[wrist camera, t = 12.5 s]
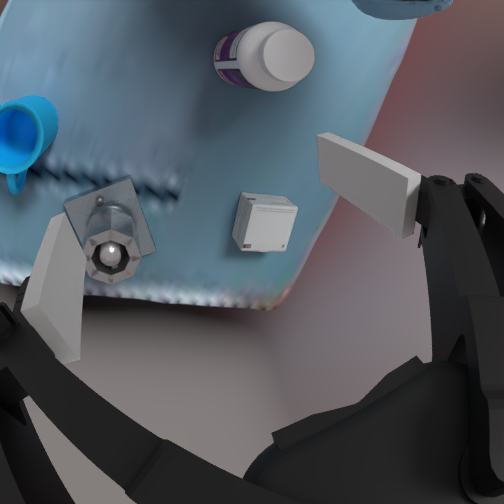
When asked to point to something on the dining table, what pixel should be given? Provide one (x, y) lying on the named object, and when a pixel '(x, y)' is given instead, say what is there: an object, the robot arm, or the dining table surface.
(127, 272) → the tube
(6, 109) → the mug
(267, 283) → the dining table surface
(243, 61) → the pill bottle
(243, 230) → the small box
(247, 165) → the dining table surface
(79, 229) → the block
